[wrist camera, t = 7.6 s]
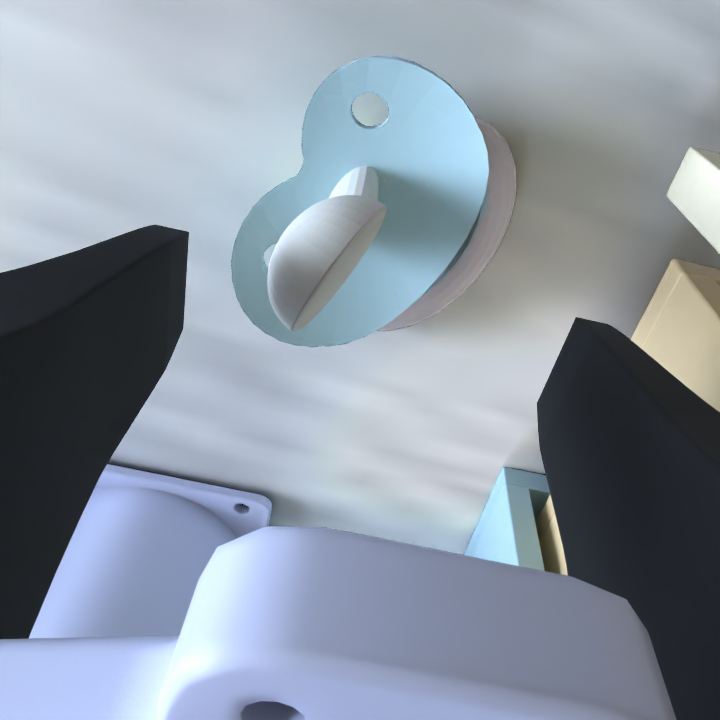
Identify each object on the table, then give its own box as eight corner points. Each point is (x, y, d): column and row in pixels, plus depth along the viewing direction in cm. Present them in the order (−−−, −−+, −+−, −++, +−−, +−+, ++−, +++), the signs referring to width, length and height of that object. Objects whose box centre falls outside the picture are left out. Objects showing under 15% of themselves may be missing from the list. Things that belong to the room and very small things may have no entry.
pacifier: (568, 151, 16) (360, 4, 14) (649, 265, 11) (341, 57, 9) (402, 357, 20) (221, 258, 18) (403, 515, 15) (152, 396, 13)
